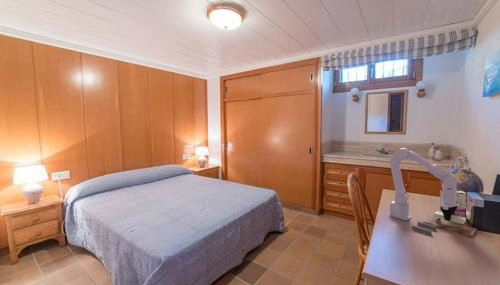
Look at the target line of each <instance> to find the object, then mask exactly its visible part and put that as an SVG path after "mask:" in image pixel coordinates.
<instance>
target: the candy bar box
mask: <svg viewBox="0 0 500 285" xmlns="http://www.w3.org/2000/svg"><path fill="white" fill-rule="evenodd" d="M467 195H468V194H467V193H466V192H465V191H463V190H457V196H456V204H459V206H458V208H457V209H456V211H455V213H454V215H455V216H459V217H464V218H466V207H467V201H468V198H467V197H468V196H467ZM441 206H442V207H443V205H442V189H440V190H439V212H442V211H441V209H440V207H441ZM467 208H468V207H467ZM442 213H443V212H442Z"/></svg>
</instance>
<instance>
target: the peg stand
mask: <svg viewBox="0 0 500 285" xmlns="http://www.w3.org/2000/svg"><path fill="white" fill-rule="evenodd" d="M422 222H423V223H426V224H430V225H434V226H436V229H441V230H445V231H448V232H452V233H456V234H458V235H463V236H466V237H470V238H473V237H474V235H476V233H477V231H478V228H476V227H472V226H468V225H465V224H461V223H457V222H453V221H447V220H445V219H441V218H437V217H434V216H428V217H427V218H426V219H424V220H422Z"/></svg>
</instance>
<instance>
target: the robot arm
mask: <svg viewBox="0 0 500 285" xmlns="http://www.w3.org/2000/svg"><path fill="white" fill-rule="evenodd" d="M405 159H407V160H413V161H415V162H417V163H418V164H420V165H422V167H425V168H426V169H427V172H429V173H430V174H431V175H433V177H436V178H437V179H438V180H441V181H442V189H441V190H442V205H443V207H442V206H441V207H440V206H439V210H440V209H441V211H442V212H443V215H444V219H443V220H445V221H449V222H451V221H450V220H451V216H452V215H454V213H455V211H456V209H457V208H458V206H459V204H456V196H457V191H458V190H457V184H458V179H457V176H456V175H454V173H451V171H449V170H446V169H445V168H443V167H442V165H440V164H435V163H433V164H432V163H431V162H430V161H427V160H426V158H424V157H422V156H421V155H419V154H418V153H416V152H415V151H413V150H410V149H409V148H407V147H400V148H398V149H397V150H396V151H395V152H394V153H393V155H392V156H391V158H390V160H389V164H390V169H391V170H390V171H391V174H392V178H393V179H392V181H393V185H394V189H395V190H394V193H395V196H394V200H392V201H391V202H390V203H389V216H390V217H393V218H396V219H399V220H403V221H408V220H410V219H411V218H412V216H410V215H409V213H410V212H409V211H410V209H409V208H410V203H409V202H408V200H409V194H408V193H407V191H406V188H405V184H404V180H403V179H404V178H403V175H402V171H401V170H402V169H401V166H400V165H401V164H400V163H401V162H402V161H403V160H405Z"/></svg>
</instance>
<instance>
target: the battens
mask: <svg viewBox="0 0 500 285" xmlns="http://www.w3.org/2000/svg"><path fill="white" fill-rule="evenodd" d="M416 224H417V225H414V224H412V226H411V227H412V228H411V230H412V231H415V232H420V233H423V234H425V235H428V236H431V235H432V231H437V227H436V226H434V225H430V224H426V223H423V221H417V223H416Z"/></svg>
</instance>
